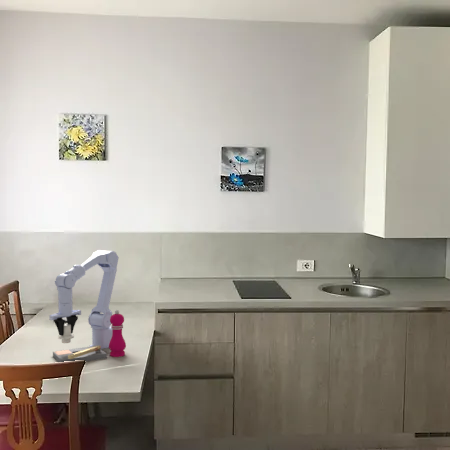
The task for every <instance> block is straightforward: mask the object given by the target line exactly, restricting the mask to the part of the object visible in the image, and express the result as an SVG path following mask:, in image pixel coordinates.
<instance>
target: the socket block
mask: <svg viewBox="0 0 450 450" xmlns="http://www.w3.org/2000/svg"><path fill="white" fill-rule="evenodd" d="M92 347H95V346H84V347H76V348H70V349H63V350H56V351H52V357H53V358H54V359H55V360H56V362H57V363H59V362H64V361H75V360H86V361H85V362H90V361H96V360H102V359H107V357H108V355H107V352H105V351H104V350H103V349H101V350H97V351H94V352H91V353H88V354H85V355H82V356H79V357H76V358H73V359H68V355H70V354H73V353H77V352H80V351H83V350H86V349H89V348H92Z"/></svg>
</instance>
